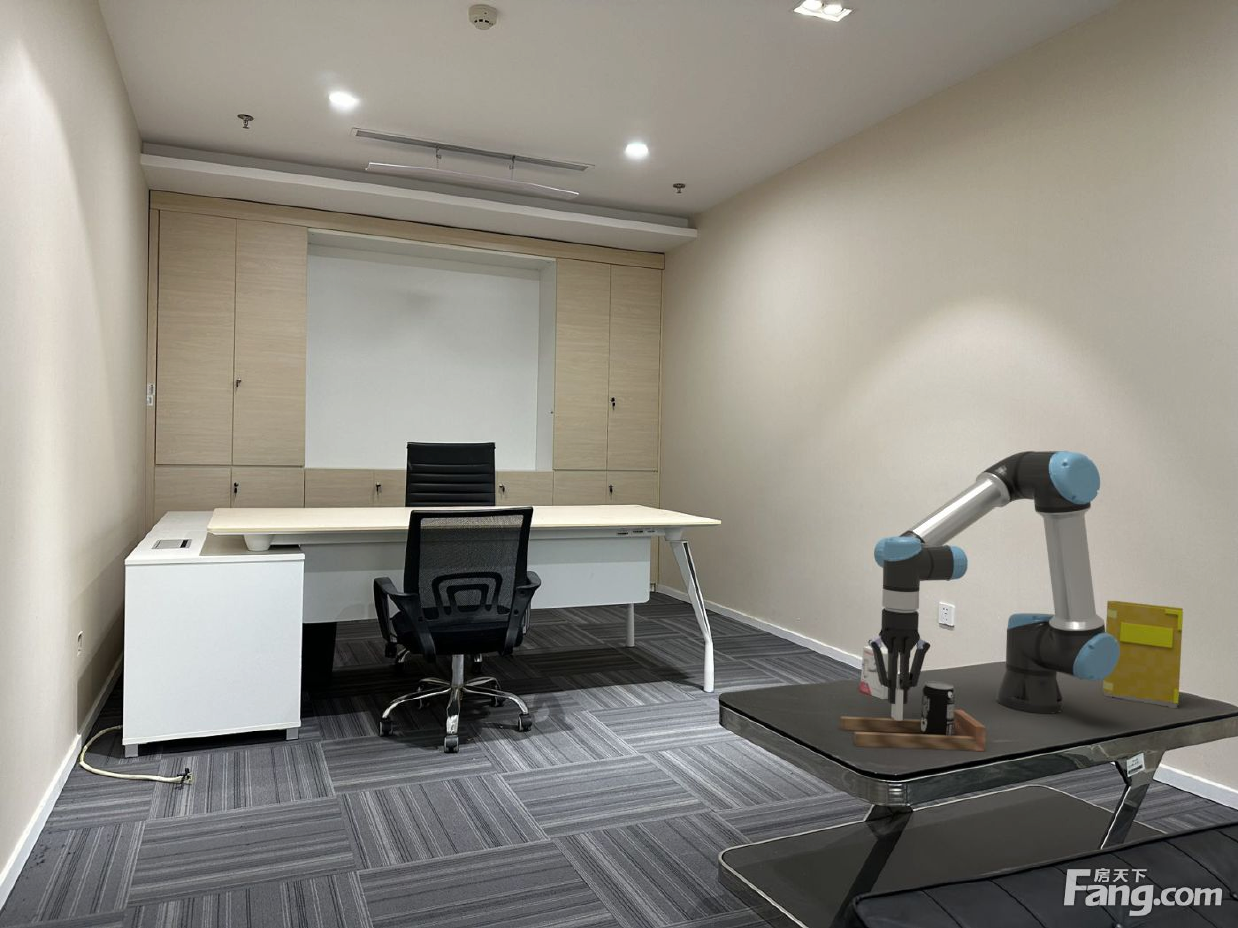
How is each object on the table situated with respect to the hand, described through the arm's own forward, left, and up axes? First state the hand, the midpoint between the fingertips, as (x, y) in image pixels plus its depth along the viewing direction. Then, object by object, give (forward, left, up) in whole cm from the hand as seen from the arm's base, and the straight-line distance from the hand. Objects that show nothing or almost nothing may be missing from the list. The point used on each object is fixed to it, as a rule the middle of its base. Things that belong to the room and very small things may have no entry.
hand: (896, 718), depth 184 cm
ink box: (-7, -35, -5) cm, 36 cm away
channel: (-3, 0, -4) cm, 5 cm away
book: (-79, -40, -5) cm, 89 cm away
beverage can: (-9, 0, -5) cm, 10 cm away
